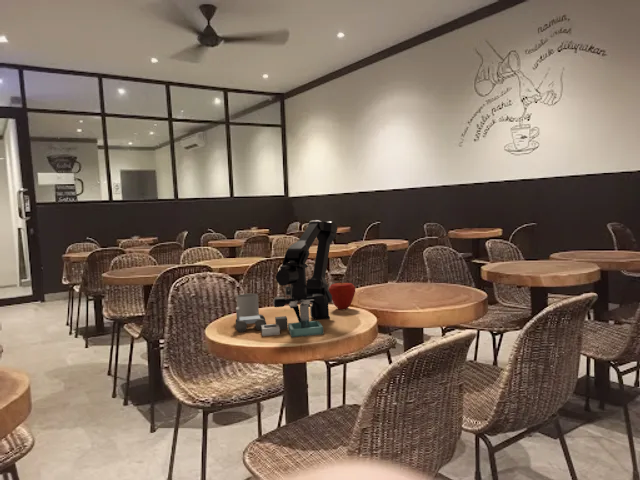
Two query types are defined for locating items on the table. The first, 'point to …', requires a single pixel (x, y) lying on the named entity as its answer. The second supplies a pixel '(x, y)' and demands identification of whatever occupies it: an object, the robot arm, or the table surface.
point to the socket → (270, 329)
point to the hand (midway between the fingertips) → (300, 323)
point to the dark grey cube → (281, 322)
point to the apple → (342, 294)
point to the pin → (304, 316)
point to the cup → (248, 305)
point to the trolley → (248, 321)
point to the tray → (305, 329)
